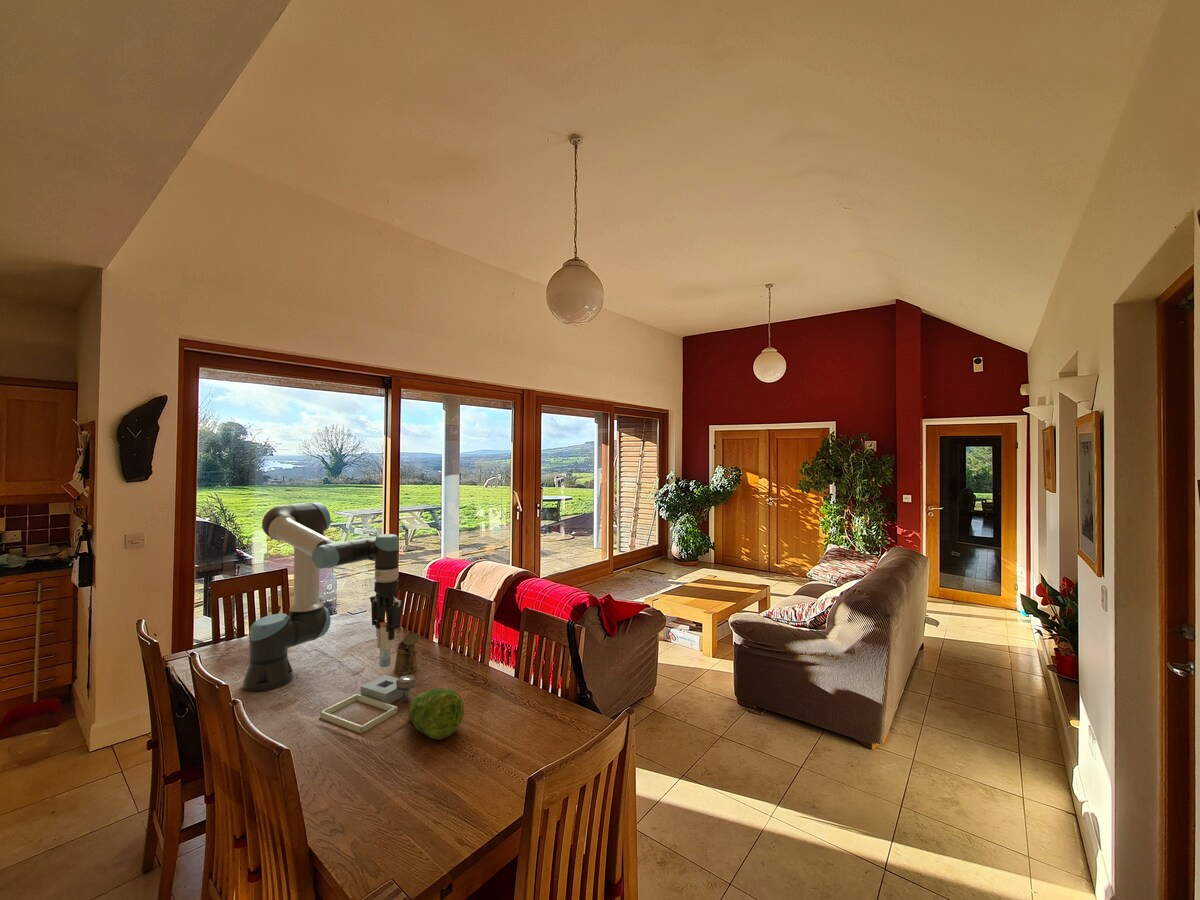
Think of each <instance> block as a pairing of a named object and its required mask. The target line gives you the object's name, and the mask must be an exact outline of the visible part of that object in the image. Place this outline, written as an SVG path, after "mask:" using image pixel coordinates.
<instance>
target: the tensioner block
mask: <svg viewBox="0 0 1200 900" xmlns="http://www.w3.org/2000/svg"><path fill="white" fill-rule="evenodd" d="M398 679H399V678H398V677H394V676H392V675H391V676H390V675H388V674H384V675H382V676H379V677H378V678H375V679H373V680H372V681H369V682H366V683H365V684H362V685H360V695H363V696H366V697H369V698H372V699H375V700H378V701H381V702H384V703H387V704H390V705H392V703H393V704H394V702H397V700H399V699H402V698H403V690H399V689H397V688H396V681H397V680H398Z"/></svg>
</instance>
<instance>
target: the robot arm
mask: <svg viewBox="0 0 1200 900" xmlns="http://www.w3.org/2000/svg"><path fill="white" fill-rule="evenodd" d="M331 521H332V518H331V514H330V511H329V509H328V508H327V507H326V505H325V504H323V503H321V502H311V501H310V502H303V503H302V502H301V503H292V504H291V503H290V504H282V505H281V504H280V505H277V506H275V507H272V508H271V509H270V510H269V511H267V512H266V513H265V514H264V516H263V519H262V521H261V527H262V531H263V533H265V535H266V536H267V537H269V538H271V539H273V540H274V541H283V542H284V543H286V544H288V545H290V546H292V547H293V604H292V605H291V607H289V615H287V613H279V612H278V613H274V614H269V615H265V616H264V617H259V619H257V620H256V621H254V622H253V623H252V624H251V626H250V629H249V636H248V638H249V665H248V667H247V669H246V670H247V671H246V673H245V675H244V679H243V681H242V686H243V687H242V689H243V690H245V691H247V692H265V691H269V690H273V689H278V688H279V687H282V686H284V685H287V683H289V682H291V681H292V680H293V674H294V670H293V667H292V666H291V663H290V659H289V657H288V649H290V648H292V647H296V646H299V645H302V644H304V643H307V642H312V641H315V640H317V639H319V638H321V637H324V636H325V635H326V633H327V632H328V631H329V629H330V627H331V626H330V625H331V620H332V619H331V614H330V611H329V609H328V608H327V607H325V606H324V605H325V604H324V602H323V601H320V569H331V568H334V567H338V566H343V565H348V564H352V563H358V562H362V561H373V562H374V580H375V581H374V587H373V588H374V589H373V590H374V591H373V592H374V593H375V595H373V596H370V597H369V599H370V604H371V606H370V607H371V626H374V627H375V628H376V638H377V639H376V649H380V621H382V620H387V629H388V630H386V638H385V650H389V649H390V650H391V649H394V640H395V633H396V631H395V630H397V629H400V627H401V625H400V624H401V623H400V622H401V611H402V605H403V602H404V601H403V600H399V599H398V597H397V591H398V589H399V561H400V559H399V558H400V554H399V553H400V540H399V536H398V535H397V534H391V533H384V534H383V533H382V534H378V535H376V537H375V538H373V537H368V536H359V537H356V538H355V539H353V540H348V541H339V542H337V541H334V540H332V539H331V538H328V537H327V536H326V535H325V532H326V531H327V530H328V529H329V528H330V525H331ZM324 535H325V536H324ZM385 618H386V619H385Z"/></svg>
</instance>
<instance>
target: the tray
mask: <svg viewBox="0 0 1200 900" xmlns="http://www.w3.org/2000/svg"><path fill="white" fill-rule="evenodd" d="M355 701H358V702H360V703H364V704H366V705H370V706H372V707H375V708H378V709H381V710H385V711H386V712H384V713H382V714H381V715H378V716H377V717H375V718H374V719H371V720H369V721H367V722H366V723H365V724H358V723H355V722H353V721H350V720H347V719H344V718H343V717H339V716H337V715H334V714H332V713H335V712H336V711H339V710H340V709H342V708H344V707H346V706H349V705H351V704H353V703H354V702H355ZM319 714H320V715H319V717H320V719H323V720H320V719H319V720H320V722H322V723H325V724H328V725H330V726H333V727H336V728H338V729H341V730H344V731H345V732H349V733H352V734H353V735H356V736H360V737H361V738H362V737H363V736H362V735H360V734H363V733H364V732H366V731H368V730H370V729H372V728H373V727H375V726H377V725H378V724H381V723H382V722H384V721H385V720H387V719H389V718H391V717H392V716H394V715H396V714H398V706H396V705H393V704H387V703H384V702H381V701H378V700H375V699H372V698H369V697H366V696H363V695H361V693H356V694H354V695H352V696H350V697H347V698H345V699H343V700H342V701H341V700H340V701H339V702H337V703H335V704H333V705H331V706H329V707H327V708H325V709H323V710H321V711H320V712H319ZM324 720H325V721H324ZM326 721H328V722H331V723H333V724H331V723H328V722H326ZM334 724H335V725H334ZM337 725H339V726H341V727H344V728H346V729H344V728H341V727H338V726H337ZM347 729H348V730H347ZM349 730H352V731H354V732H352V731H349ZM355 732H356V733H355ZM357 733H359V734H357Z"/></svg>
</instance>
